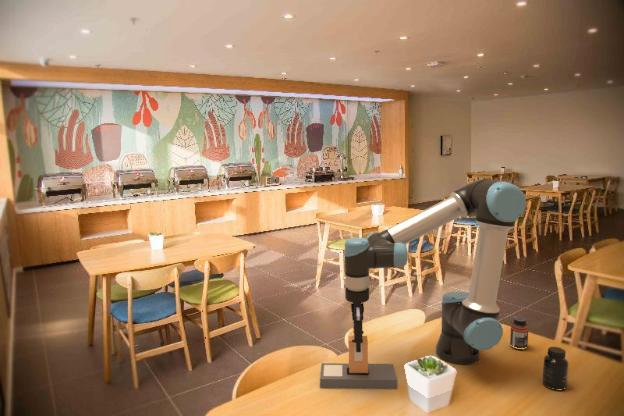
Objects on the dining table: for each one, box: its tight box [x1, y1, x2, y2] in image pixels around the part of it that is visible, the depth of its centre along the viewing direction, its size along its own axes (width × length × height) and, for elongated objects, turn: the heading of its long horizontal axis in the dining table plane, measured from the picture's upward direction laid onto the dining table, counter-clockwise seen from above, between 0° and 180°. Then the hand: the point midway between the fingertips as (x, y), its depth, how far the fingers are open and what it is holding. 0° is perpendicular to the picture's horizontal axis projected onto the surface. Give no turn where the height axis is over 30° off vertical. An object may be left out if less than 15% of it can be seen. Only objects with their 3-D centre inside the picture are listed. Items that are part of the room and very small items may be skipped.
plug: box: [348, 335, 369, 373], centre depth 143 cm, size 6×4×11 cm, turn 86°
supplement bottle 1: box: [509, 316, 529, 348], centre depth 165 cm, size 6×6×11 cm
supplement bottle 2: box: [542, 346, 569, 389], centre depth 139 cm, size 7×7×12 cm
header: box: [319, 362, 398, 390], centre depth 144 cm, size 24×10×4 cm, turn 86°
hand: (358, 356), depth 143 cm, fingers closed on plug, 3 cm apart
